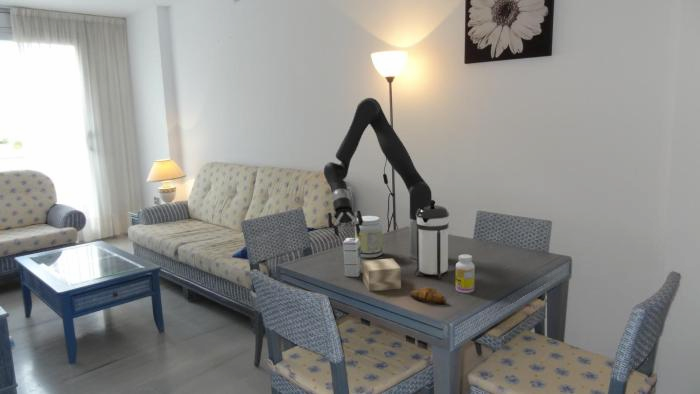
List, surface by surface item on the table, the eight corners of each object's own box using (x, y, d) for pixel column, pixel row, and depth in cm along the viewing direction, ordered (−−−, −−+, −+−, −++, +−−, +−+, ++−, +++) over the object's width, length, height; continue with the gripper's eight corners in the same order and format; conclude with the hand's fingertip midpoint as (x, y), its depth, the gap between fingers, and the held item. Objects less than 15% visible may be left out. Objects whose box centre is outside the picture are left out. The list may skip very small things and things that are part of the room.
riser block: (393, 277, 198) (392, 258, 197) (401, 288, 186) (400, 267, 185) (363, 280, 196) (362, 260, 195) (369, 291, 184) (368, 270, 183)
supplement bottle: (453, 287, 185) (453, 253, 183) (470, 286, 186) (471, 252, 184) (458, 294, 179) (458, 259, 176) (476, 293, 179) (477, 258, 177)
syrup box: (358, 277, 200) (357, 241, 197) (344, 276, 201) (342, 241, 198) (361, 272, 205) (360, 237, 202) (347, 271, 206) (345, 237, 204)
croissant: (450, 301, 173) (450, 287, 172) (441, 308, 168) (441, 293, 167) (415, 293, 181) (415, 280, 180) (406, 300, 175) (405, 286, 174)
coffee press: (459, 278, 195) (460, 202, 189) (419, 281, 192) (419, 204, 187) (444, 264, 211) (444, 194, 206) (407, 267, 209) (406, 196, 203)
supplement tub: (352, 252, 233) (351, 216, 230) (377, 249, 236) (376, 214, 233) (360, 259, 221) (359, 222, 218) (386, 256, 225) (385, 219, 221)
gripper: (325, 197, 211) (331, 230, 202) (359, 195, 214) (366, 228, 205) (324, 207, 217) (329, 240, 208) (356, 205, 220) (363, 237, 211)
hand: (347, 234), depth 207 cm, fingers open, 8 cm apart
